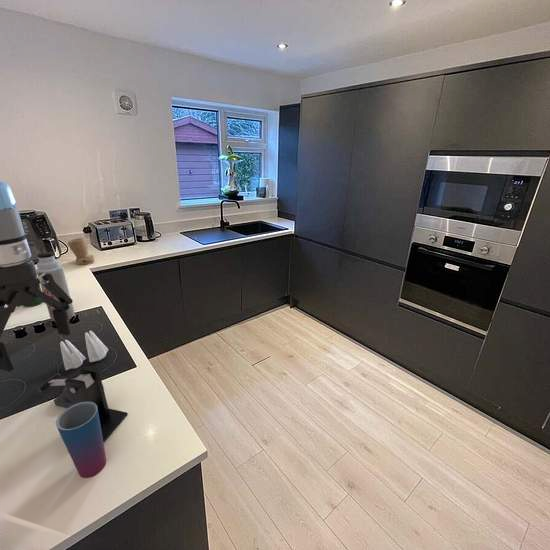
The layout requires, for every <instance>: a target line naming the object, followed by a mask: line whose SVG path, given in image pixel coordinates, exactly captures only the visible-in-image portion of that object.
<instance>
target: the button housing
mask: <svg viewBox="0 0 550 550" xmlns="http://www.w3.org/2000/svg"><path fill="white" fill-rule="evenodd" d="M102 385H103V383H102ZM103 386H104V385H103ZM103 389H104V390H105V387H103ZM53 403H54V405H55V407H60V408H65V409H67V408H69V407H70V406H72V404H71V400H70V397H69V394H68V391H67V388H66V385H64V387H63V390H62V393H60V394H58V396H57V397H56V398H54V399H53Z"/></svg>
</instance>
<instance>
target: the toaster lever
mask: <svg viewBox="0 0 550 550" xmlns="http://www.w3.org/2000/svg"><path fill="white" fill-rule="evenodd" d="M66 379H67V378H62V376H61V375H60V374H59V373H56V374H54V375H53V376H51V377H50V378H48V379H47V380H46V381H45V382H43V383H42V384H41V385H39V386H38V387H36V391H37V392H38V393H40V394H41V393H43V392H44V391H45V390H47V389H49V387H53V386H54V387H56V386H57V387H58V386H59V387H60V386H66V384H65V380H66ZM74 379H76V380H80V381H85V385H86V388H88V387H89V386H90V385H91V384H92V383H94V381H93V379H92V377H91V375H90V374H81V373H80V374H79V375H78V376H77V377H76V378H74Z"/></svg>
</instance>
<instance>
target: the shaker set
mask: <svg viewBox="0 0 550 550" xmlns="http://www.w3.org/2000/svg"><path fill="white" fill-rule="evenodd" d="M84 339H85V345H86V351H87V355H88V356H87V357H88V361H89V363H94V362H100V361H103V360H104V359H105V358H106V356H107V354H108V351H109V349H108V347H107V346H106V345H105V344H104V342H102V340H101V339H100V338H99V337H98V336H97V335H96V334H95V333H94V332H93V331H92V330H89V332H84ZM59 345H60V352H61V357H62V363H63V366H64V370H65V371H68V370H70V369H77V368H79V367H82V365H83V362H84V361H85V360H87V358H86V356H85V355H83V354H82V352H80V350H78V348H77V347H76V346H75V345H73V344H72V342H70V341H69V340H68V339H64V341H60V343H59Z"/></svg>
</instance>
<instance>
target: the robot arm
mask: <svg viewBox="0 0 550 550" xmlns="http://www.w3.org/2000/svg"><path fill="white" fill-rule="evenodd" d="M31 257H32V253H31V249H30V246H29V243H28V240H27V236H26V232H25V229H24V226H23V222H22V218H21V215H20V211H19V208H18V202H17V201H16V200H15V196H14V194H13V191H12V189H11V186H10V185H9V184H8V183H6V182H5V181H2V180H0V338H1V337H2V335H3V333H4V331H5V328H6V326H7V323H8V322H9V319H10V317H11V315H12V314H13V313H14V312H15V310H16V308H19V307H23V306H22V305H24V304H25V303H27V302H31V301H33V299H34V298H35V299H37V300H39V301H41V302H43V303H42V304H45V305H46V304H48V305H50V306H52V307H54V308H56V309H57V310H53V311H52V313H53V316H54V320H55V323H56V324H55V326H56V329H57V333H58V335H63V336H69V335H71V331H70V327H69V322H67V320H68V314H67V310H68V309H69V308H70V306H69V304H71V303H72V304H73V302H74V301H73V299H72V298H71V296H70V297H69V296H68V295H67V294H66V293H65V292H64V291H63V290H62V289H61V288H60V287H59V286H58V285H57V284H56V283H55V282H54V279H53V277H52V275H51V274H48V273H39V274H38V275H37V271H36V270H37V268H36V266H35V261H34V260H33V259H31ZM36 276H37V277H36ZM40 283H41V284H43V286H45V287H46V288H47V289H48V290H49V291H50V292H51V293H52V294H53V295H54V296H55V297H56V298H57V299H58V300H59V301H60V302H59V301H58V300H56V299H54V298H52V297H50V296H48V295H46V294H45V293H43V291H42V290H41V291H40V290H38V288H39V285H40ZM40 286H41V285H40ZM0 370H1V371H4V372H5V371H6V372H12V371H13V370H14V367H13V364H12V362H11V359H10V357H9V354H8V351H7V349H6V346H5V344H4V342H3V341H0Z"/></svg>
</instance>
